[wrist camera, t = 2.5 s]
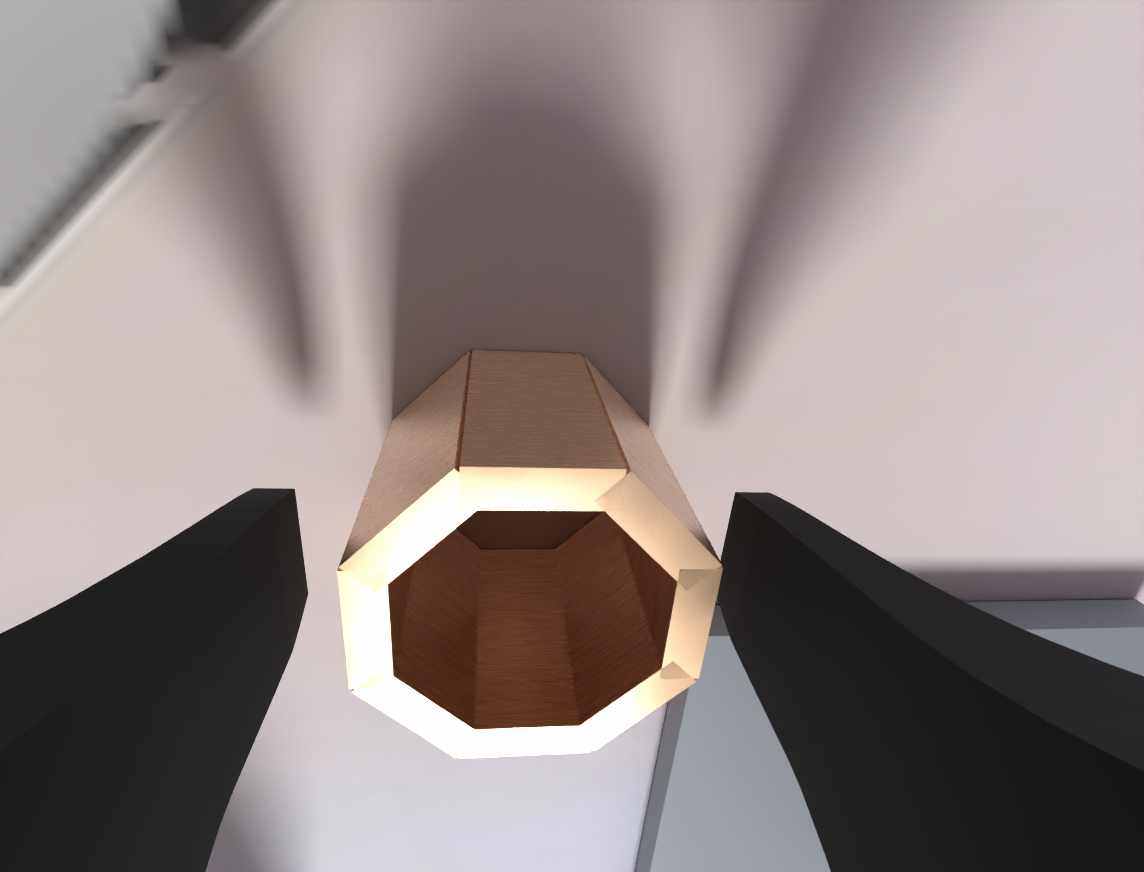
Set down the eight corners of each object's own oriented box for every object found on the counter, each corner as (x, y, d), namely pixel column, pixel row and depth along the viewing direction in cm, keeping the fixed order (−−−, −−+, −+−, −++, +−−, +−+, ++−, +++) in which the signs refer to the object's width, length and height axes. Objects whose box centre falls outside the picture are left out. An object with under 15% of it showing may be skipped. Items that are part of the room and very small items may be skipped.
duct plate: (687, 605, 15) (739, 734, 11) (1135, 599, 16) (1290, 711, 13) (624, 924, 20) (648, 1070, 17) (964, 896, 22) (1043, 1025, 18)
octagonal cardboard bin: (387, 346, 11) (325, 464, 7) (659, 357, 12) (744, 471, 8) (398, 572, 13) (357, 762, 9) (629, 571, 14) (683, 748, 10)
